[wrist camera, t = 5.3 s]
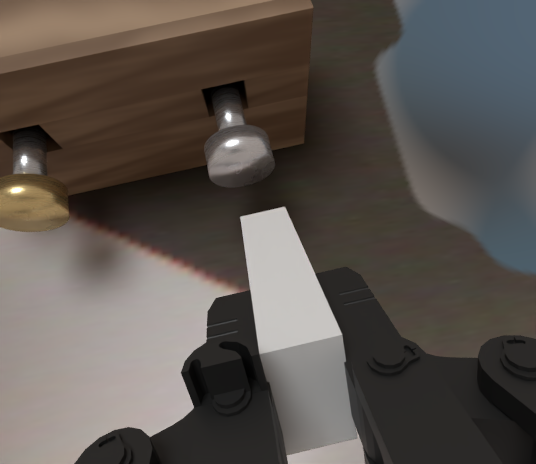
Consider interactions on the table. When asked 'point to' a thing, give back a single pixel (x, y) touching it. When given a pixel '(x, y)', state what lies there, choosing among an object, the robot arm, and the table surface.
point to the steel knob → (236, 143)
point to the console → (146, 80)
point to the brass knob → (31, 187)
